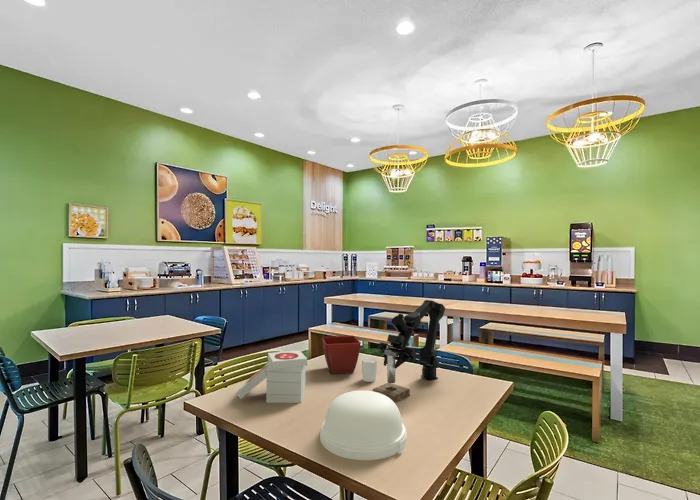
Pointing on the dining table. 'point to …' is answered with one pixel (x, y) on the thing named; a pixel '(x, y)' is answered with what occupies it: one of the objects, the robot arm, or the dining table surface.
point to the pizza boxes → (280, 378)
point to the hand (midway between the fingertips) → (389, 366)
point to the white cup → (369, 369)
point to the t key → (391, 365)
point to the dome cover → (363, 426)
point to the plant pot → (341, 353)
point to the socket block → (393, 391)
